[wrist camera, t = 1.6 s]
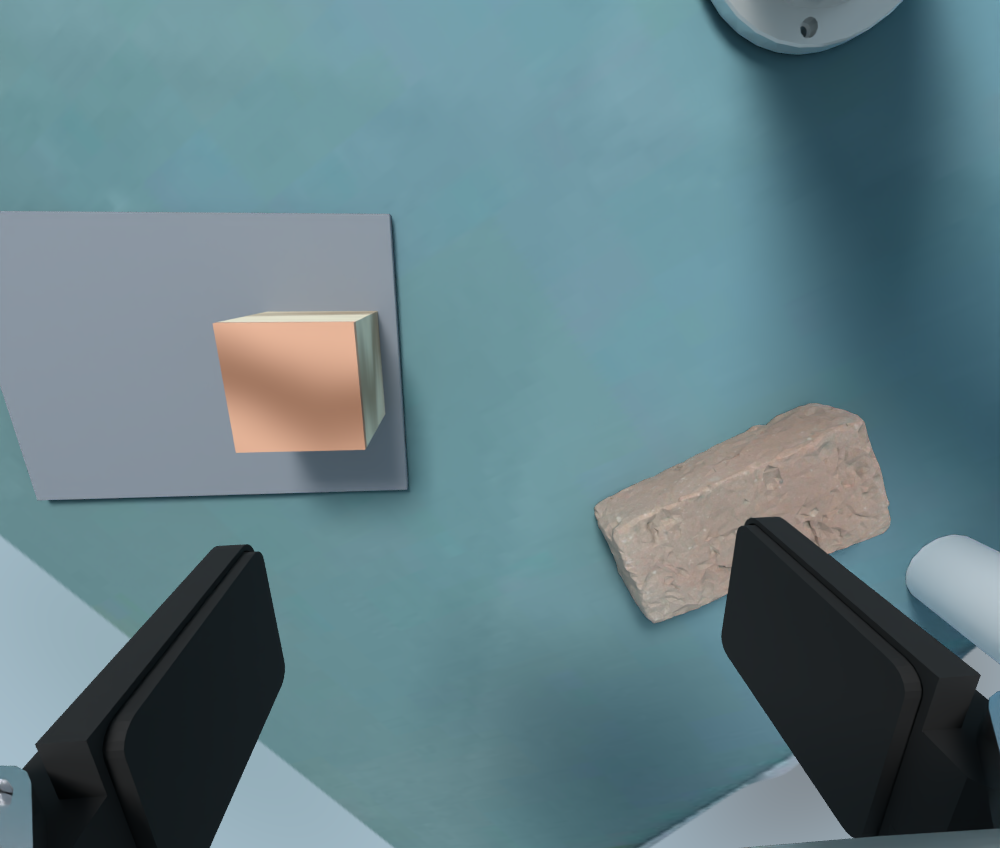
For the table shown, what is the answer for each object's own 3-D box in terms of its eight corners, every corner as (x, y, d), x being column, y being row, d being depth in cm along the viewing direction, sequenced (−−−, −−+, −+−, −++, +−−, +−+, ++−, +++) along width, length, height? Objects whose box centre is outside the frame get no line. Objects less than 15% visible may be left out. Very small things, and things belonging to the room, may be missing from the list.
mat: (-45, 212, 25) (-57, 210, 24) (390, 215, 26) (389, 213, 25) (45, 495, 30) (37, 500, 29) (408, 485, 31) (407, 489, 30)
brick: (629, 592, 35) (654, 639, 31) (585, 501, 32) (604, 537, 28) (843, 495, 34) (901, 529, 29) (815, 392, 31) (873, 412, 27)
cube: (267, 311, 27) (212, 323, 21) (377, 310, 27) (353, 322, 21) (282, 415, 28) (235, 452, 23) (385, 413, 29) (365, 449, 23)
